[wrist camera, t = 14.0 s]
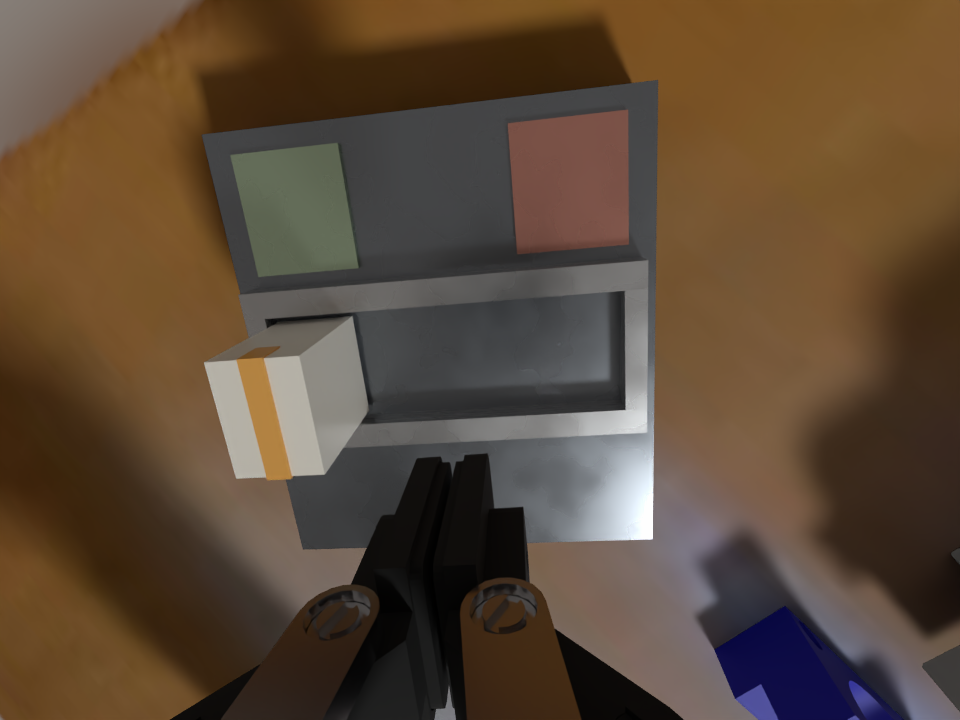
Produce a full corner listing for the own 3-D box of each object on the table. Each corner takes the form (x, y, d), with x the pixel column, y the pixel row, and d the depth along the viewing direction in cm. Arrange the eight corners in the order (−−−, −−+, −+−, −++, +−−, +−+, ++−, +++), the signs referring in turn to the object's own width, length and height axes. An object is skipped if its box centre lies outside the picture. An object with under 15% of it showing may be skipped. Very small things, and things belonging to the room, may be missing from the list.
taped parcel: (369, 411, 21) (323, 477, 16) (299, 415, 21) (234, 481, 16) (352, 314, 20) (297, 355, 15) (278, 320, 20) (201, 362, 15)
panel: (637, 499, 25) (658, 554, 21) (326, 511, 27) (293, 564, 23) (638, 96, 19) (666, 73, 16) (244, 142, 21) (184, 131, 17)
